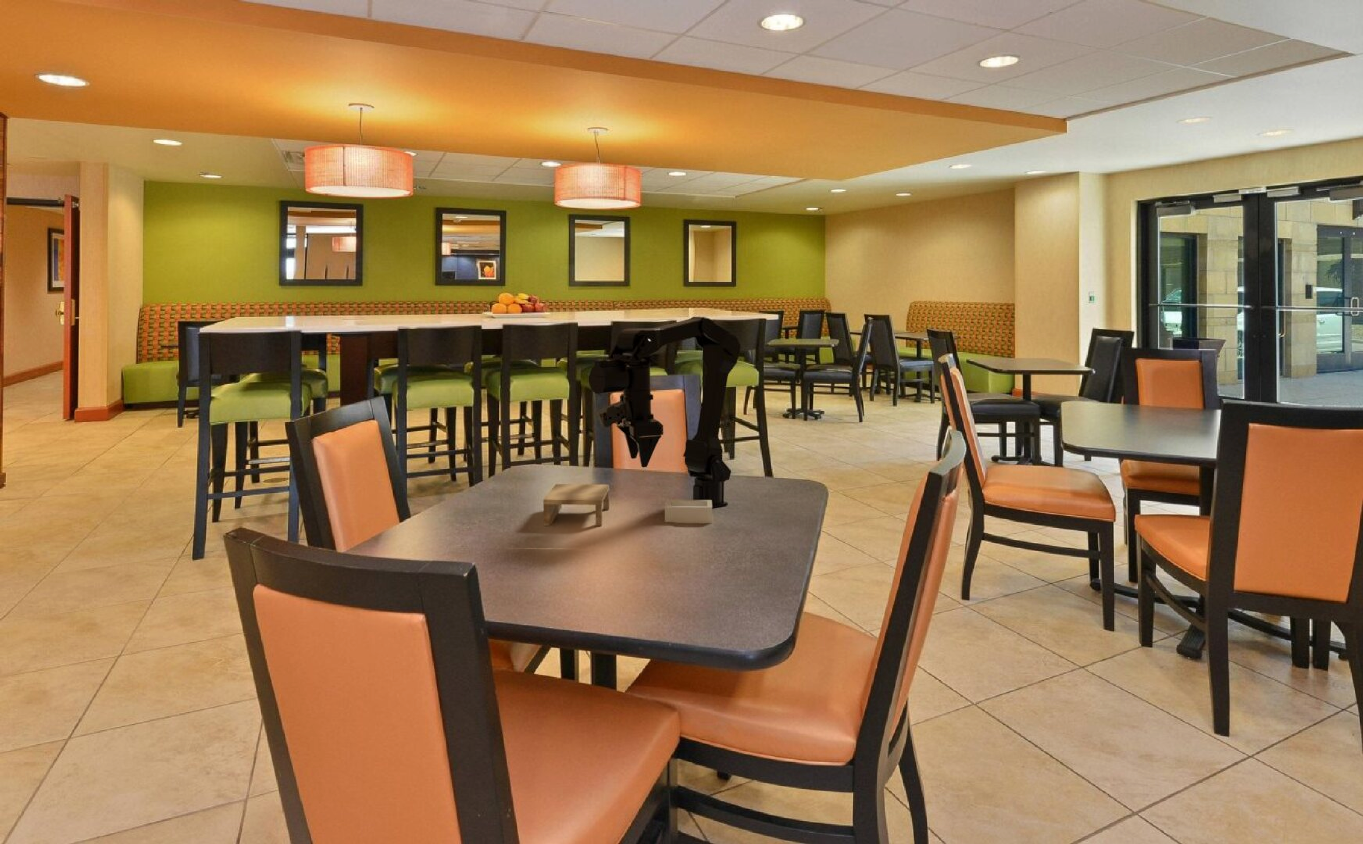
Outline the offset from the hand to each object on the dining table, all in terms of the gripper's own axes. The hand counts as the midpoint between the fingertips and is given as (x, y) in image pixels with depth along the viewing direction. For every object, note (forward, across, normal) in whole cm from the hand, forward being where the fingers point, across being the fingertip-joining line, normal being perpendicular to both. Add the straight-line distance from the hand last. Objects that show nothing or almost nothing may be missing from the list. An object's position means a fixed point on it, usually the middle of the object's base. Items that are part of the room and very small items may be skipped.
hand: (638, 462), depth 164 cm
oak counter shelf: (+12, -6, -12) cm, 18 cm away
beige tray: (+13, +2, +10) cm, 17 cm away
